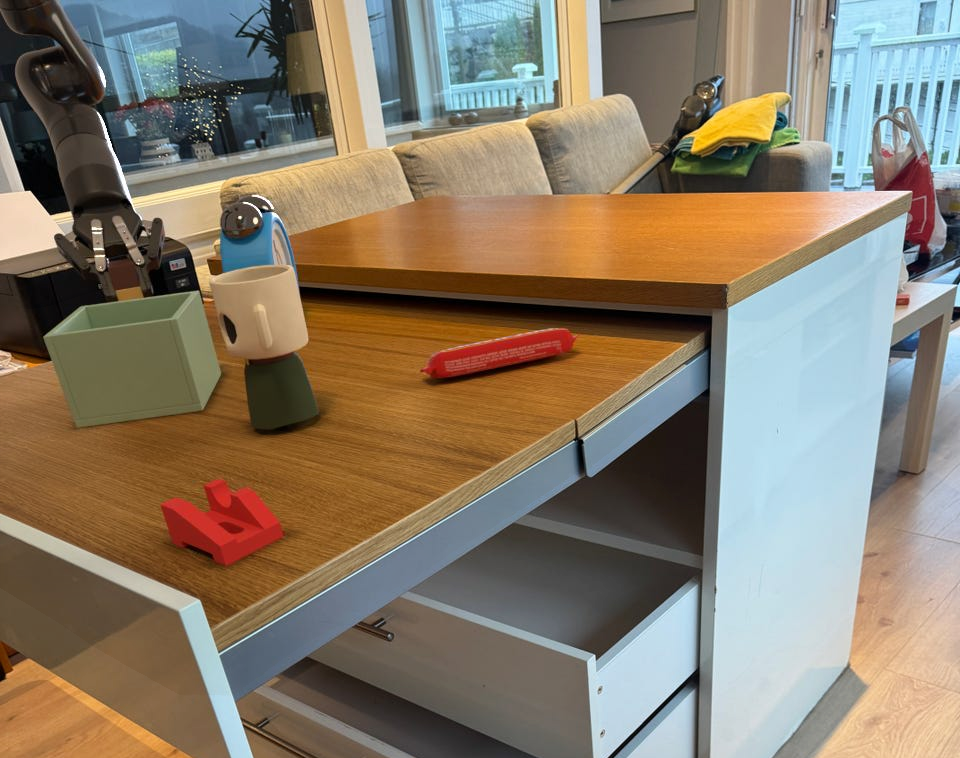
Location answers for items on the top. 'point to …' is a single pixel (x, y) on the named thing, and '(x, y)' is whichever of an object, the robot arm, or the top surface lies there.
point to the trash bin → (135, 359)
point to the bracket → (223, 523)
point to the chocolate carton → (125, 279)
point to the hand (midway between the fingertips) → (131, 299)
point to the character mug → (266, 341)
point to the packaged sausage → (499, 352)
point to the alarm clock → (253, 236)
